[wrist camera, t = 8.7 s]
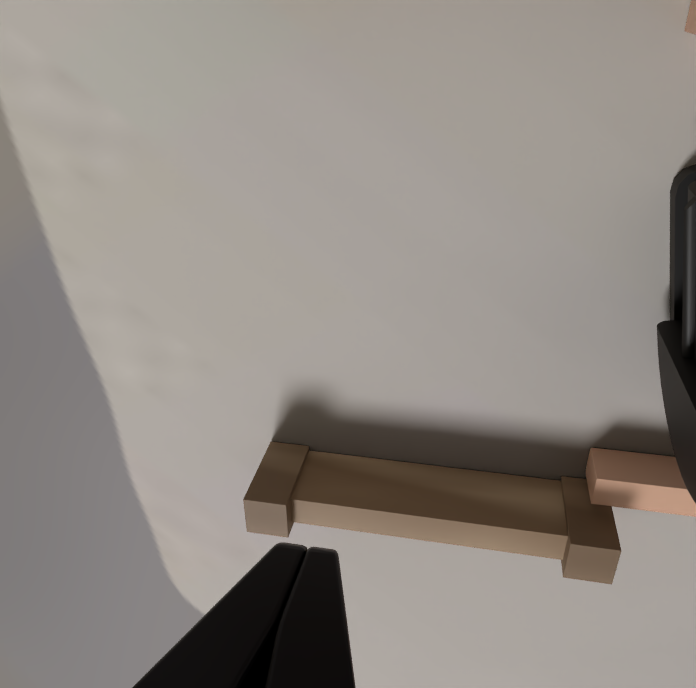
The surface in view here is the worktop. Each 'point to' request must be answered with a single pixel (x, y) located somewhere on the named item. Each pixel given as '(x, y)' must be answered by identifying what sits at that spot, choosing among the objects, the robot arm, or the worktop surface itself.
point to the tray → (640, 460)
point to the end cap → (681, 329)
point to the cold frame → (435, 507)
